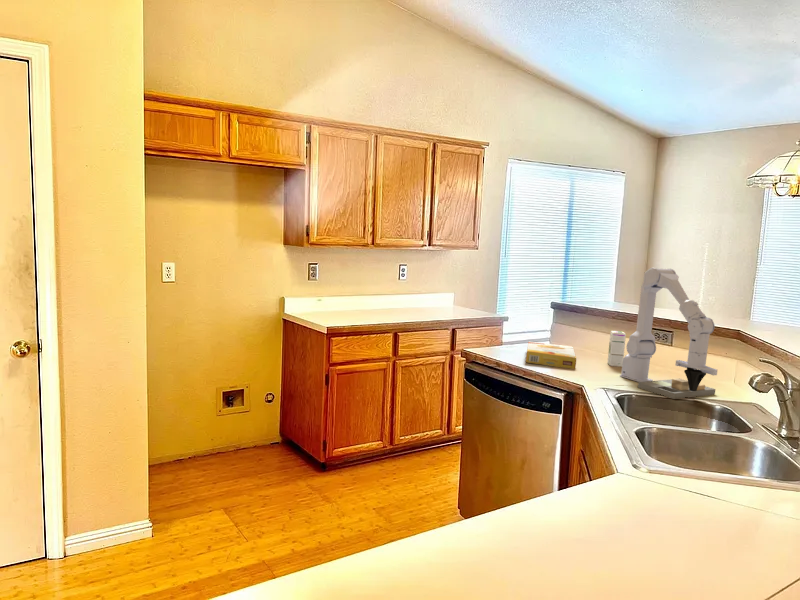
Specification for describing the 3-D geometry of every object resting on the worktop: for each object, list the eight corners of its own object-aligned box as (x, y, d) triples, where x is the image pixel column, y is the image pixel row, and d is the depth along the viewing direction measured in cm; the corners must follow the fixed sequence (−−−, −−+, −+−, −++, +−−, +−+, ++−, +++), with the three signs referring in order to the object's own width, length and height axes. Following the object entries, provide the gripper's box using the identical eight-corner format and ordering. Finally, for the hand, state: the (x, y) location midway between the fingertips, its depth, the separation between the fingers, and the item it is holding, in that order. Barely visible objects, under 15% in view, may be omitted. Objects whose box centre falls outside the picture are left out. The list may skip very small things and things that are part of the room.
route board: (637, 387, 215) (638, 378, 214) (678, 383, 225) (679, 374, 225) (673, 399, 202) (674, 389, 201) (714, 394, 212) (716, 385, 212)
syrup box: (623, 367, 250) (626, 333, 248) (608, 365, 251) (612, 332, 249) (620, 364, 255) (624, 331, 254) (606, 363, 257) (610, 330, 255)
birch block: (671, 387, 210) (672, 379, 210) (678, 386, 212) (679, 378, 212) (681, 390, 207) (682, 381, 206) (688, 389, 208) (689, 381, 208)
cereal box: (526, 350, 243) (527, 339, 271) (525, 364, 244) (526, 351, 271) (577, 357, 239) (573, 345, 266) (575, 370, 240) (571, 357, 267)
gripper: (724, 356, 199) (719, 395, 200) (686, 347, 211) (681, 384, 213) (711, 357, 195) (706, 397, 197) (673, 348, 208) (668, 385, 210)
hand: (692, 390), depth 205 cm, fingers closed
